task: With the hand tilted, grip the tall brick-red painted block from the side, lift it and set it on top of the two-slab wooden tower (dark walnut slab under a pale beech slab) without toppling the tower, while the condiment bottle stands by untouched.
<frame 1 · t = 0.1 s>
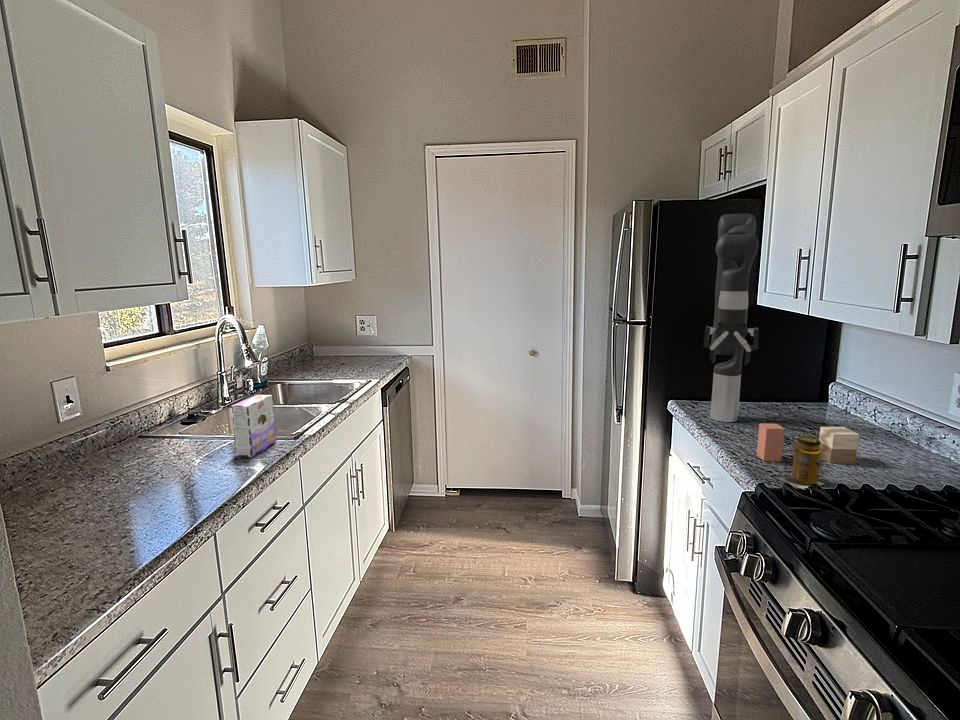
hand: (729, 363, 156), 29 cm above the worktop, tool pointing down, fingers open, 8 cm apart
condiment: (801, 482, 146), on the worktop
tower base: (835, 459, 162), on the worktop, touching tower top
tower top: (837, 445, 161), point 4 cm above the worktop, touching tower base
tall block: (768, 458, 163), on the worktop
candy box: (256, 449, 174), on the worktop
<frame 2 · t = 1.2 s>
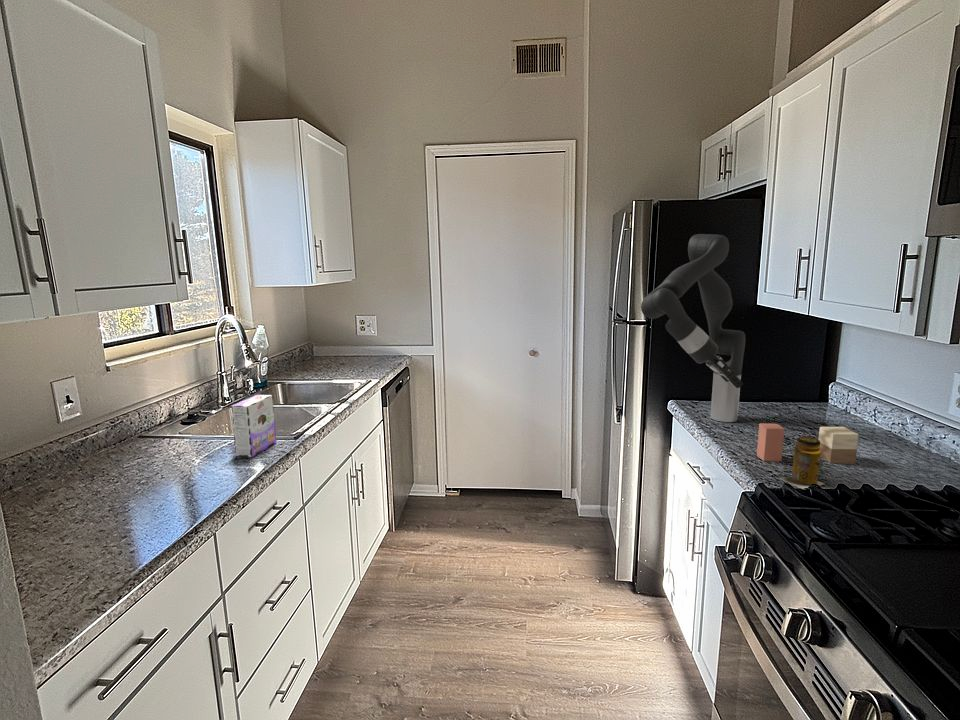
hand: (734, 382, 159), 23 cm above the worktop, tool tilted 45°, fingers open, 8 cm apart
nothing on the worktop moved.
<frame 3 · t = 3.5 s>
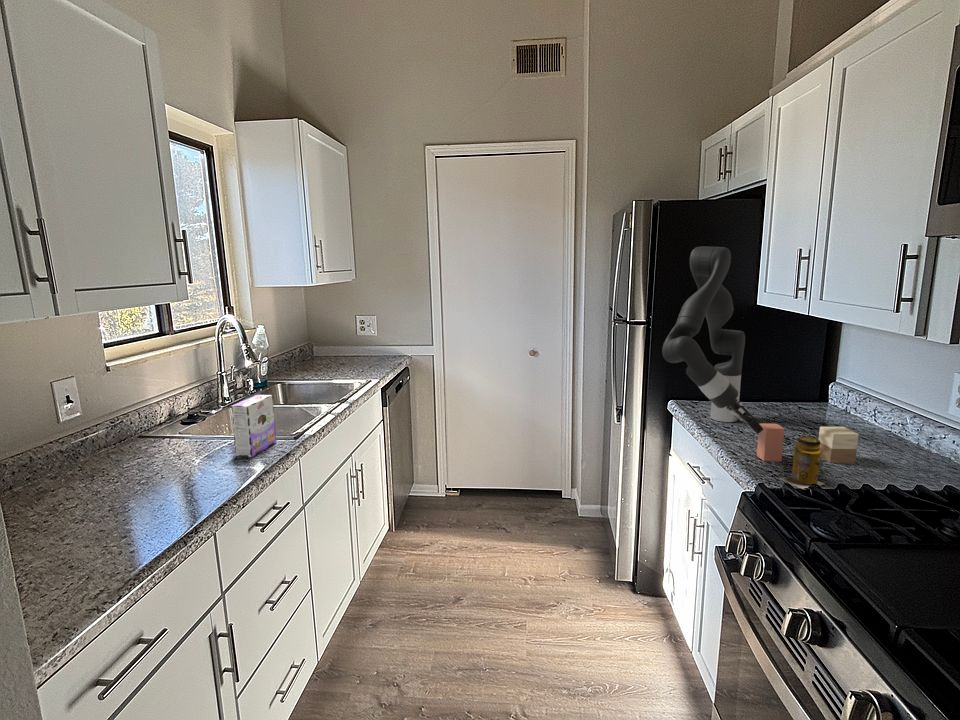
hand: (754, 426, 161), 10 cm above the worktop, tool tilted 45°, fingers open, 8 cm apart
tower base: (835, 459, 162), on the worktop
tower top: (837, 444, 161), point 4 cm above the worktop
everything else where it was.
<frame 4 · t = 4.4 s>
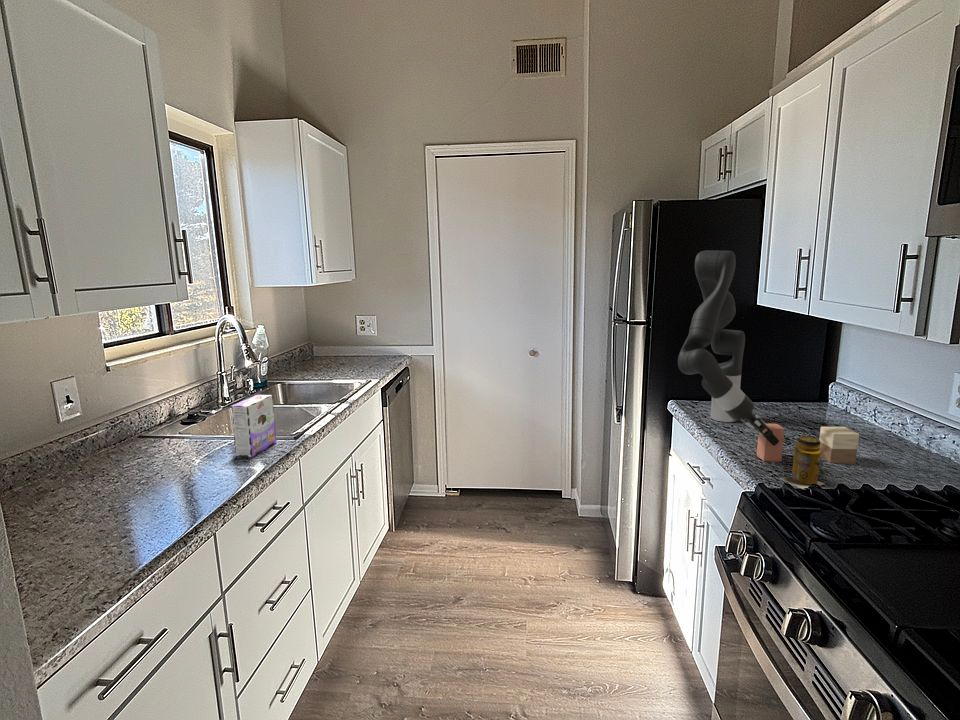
hand: (770, 438, 162), 6 cm above the worktop, tool tilted 45°, fingers open, 8 cm apart
tower base: (835, 459, 162), on the worktop, touching tower top
tower top: (837, 444, 161), point 4 cm above the worktop, touching tower base
everything else where it was.
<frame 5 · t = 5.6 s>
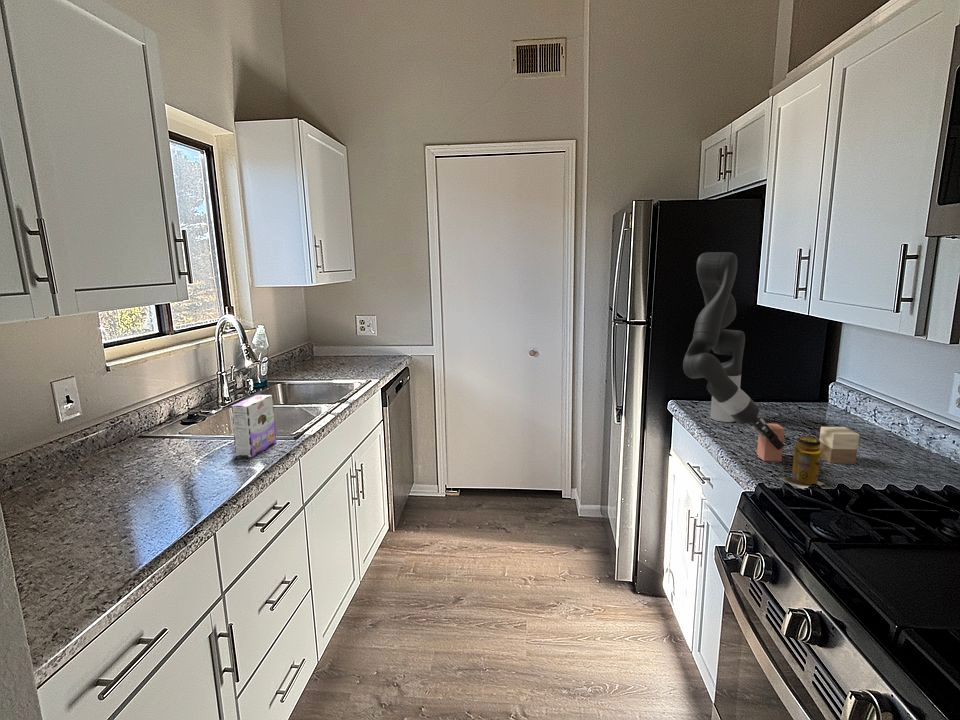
hand: (776, 444, 162), 4 cm above the worktop, tool tilted 45°, fingers closed on tall block, 5 cm apart
tall block: (768, 458, 163), on the worktop, touching gripper
everything else where it was.
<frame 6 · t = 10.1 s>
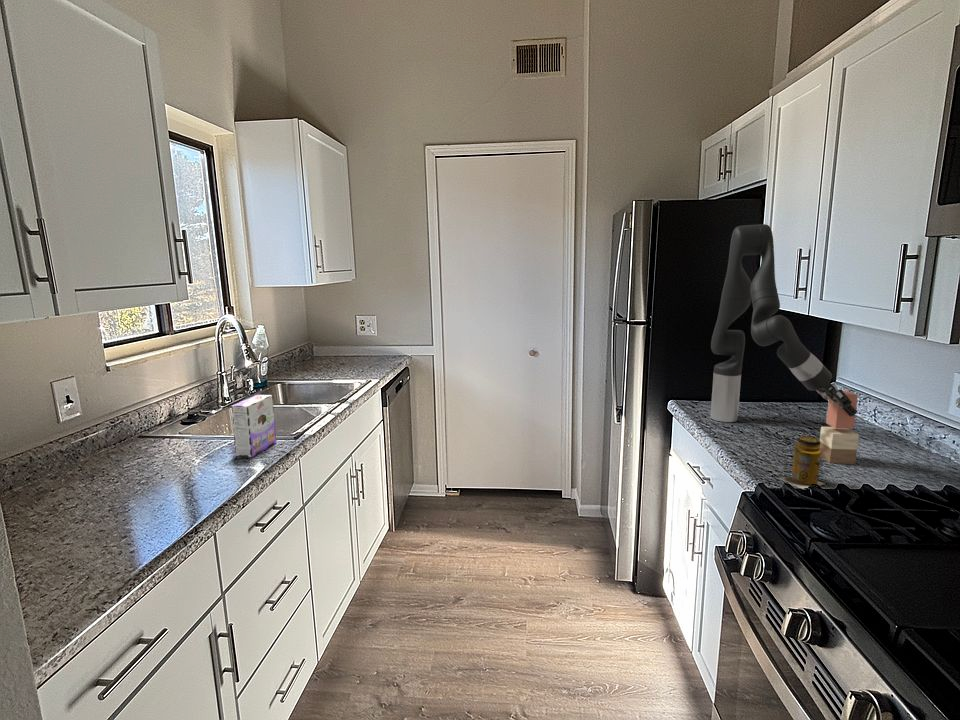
hand: (848, 411, 159), 15 cm above the worktop, tool tilted 45°, fingers closed on tall block, 5 cm apart
tall block: (839, 425, 160), point 10 cm above the worktop, touching gripper
everything else where it was.
when the fingers open (15 cm above the worktop, at t = 10.5 s): tall block drops 1 cm, resting on tower top.
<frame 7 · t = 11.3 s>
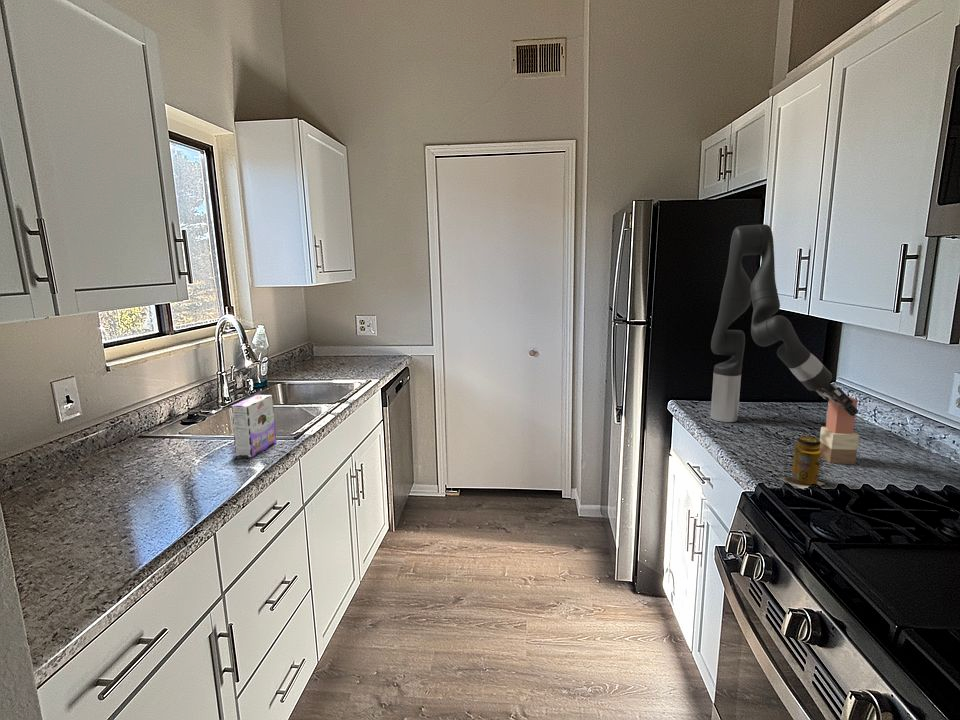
hand: (846, 409, 159), 15 cm above the worktop, tool tilted 45°, fingers open, 8 cm apart
tower top: (838, 445, 161), point 4 cm above the worktop, touching tall block, tower base
tall block: (839, 430, 160), point 9 cm above the worktop, touching tower top
everything else where it was.
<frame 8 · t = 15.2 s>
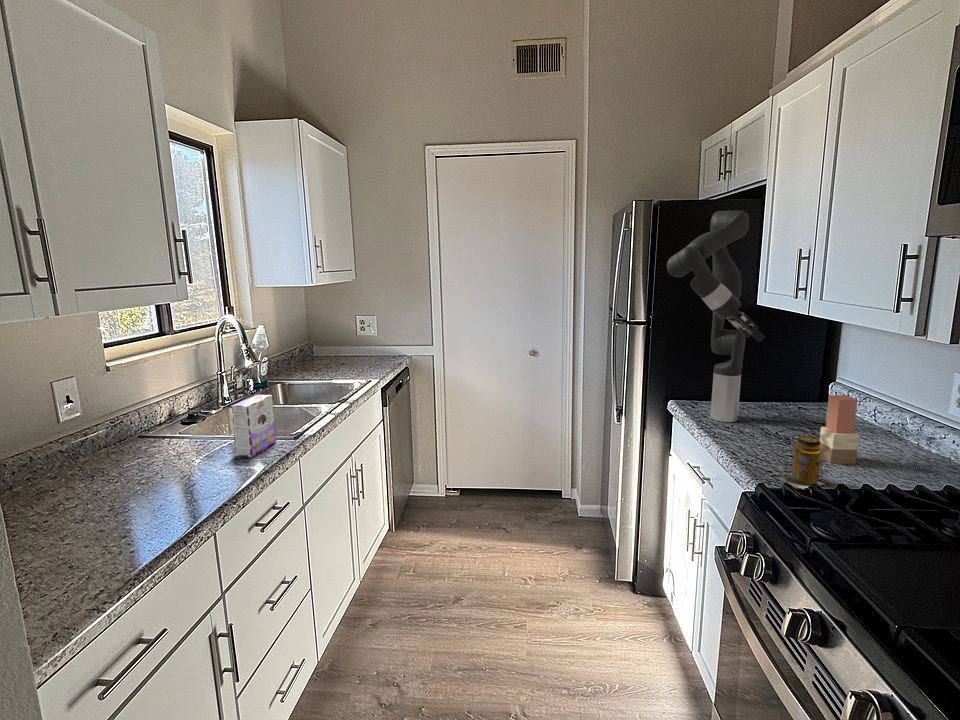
hand: (756, 337, 168), 35 cm above the worktop, tool tilted 45°, fingers open, 8 cm apart
nothing on the worktop moved.
at the end: tall block 0.3 cm off-centre on the tower top, point 4.5 cm above the tower top's base; tall block tilted 0°; tower top moved 0.3 cm from its start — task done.
